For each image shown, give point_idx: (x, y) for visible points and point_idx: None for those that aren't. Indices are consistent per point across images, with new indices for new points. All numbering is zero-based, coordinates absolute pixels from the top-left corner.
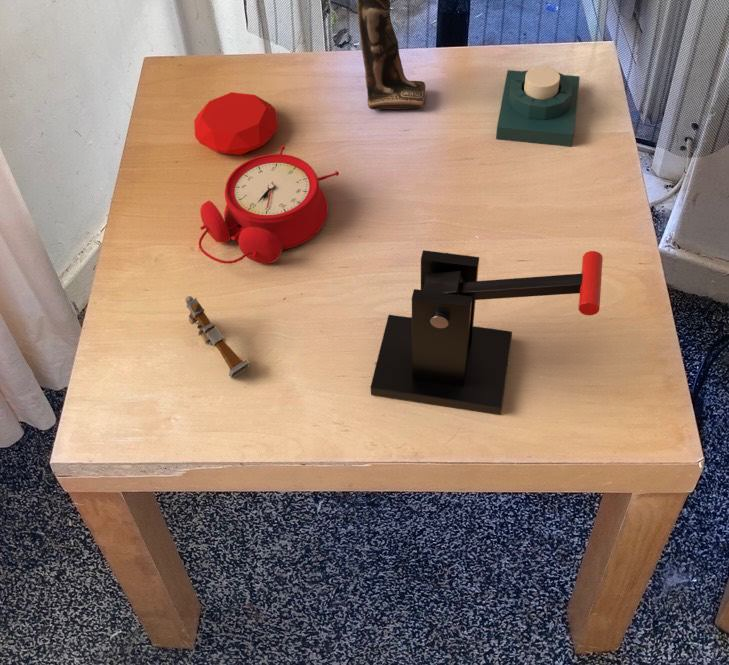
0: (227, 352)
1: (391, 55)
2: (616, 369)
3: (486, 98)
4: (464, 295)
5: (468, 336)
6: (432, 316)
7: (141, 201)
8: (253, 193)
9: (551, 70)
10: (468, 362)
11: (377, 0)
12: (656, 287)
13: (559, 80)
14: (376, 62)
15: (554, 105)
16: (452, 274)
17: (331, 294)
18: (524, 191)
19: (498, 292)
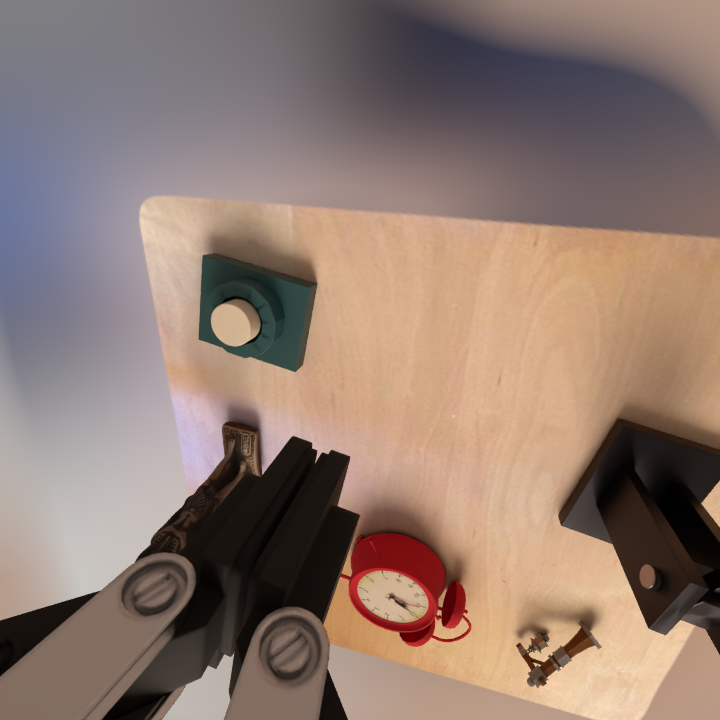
0: (579, 648)
1: (213, 485)
2: (708, 316)
3: (236, 360)
4: None
5: None
6: None
7: (370, 642)
8: (397, 610)
9: (218, 312)
10: (655, 476)
11: None
12: (583, 232)
13: (236, 305)
14: (223, 498)
15: (272, 312)
16: (701, 607)
17: (507, 549)
18: (388, 353)
19: None
